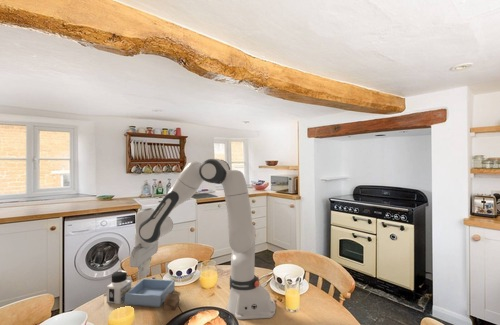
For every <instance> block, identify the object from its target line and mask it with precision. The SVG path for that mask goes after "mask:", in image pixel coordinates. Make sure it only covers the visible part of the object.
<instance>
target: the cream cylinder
mask: <svg viewBox="0 0 500 325" xmlns="http://www.w3.org/2000/svg"><path fill="white" fill-rule="evenodd" d="M142 267H143V271H142V272H138V276H140V277H146V276H149V275H150V270H151V269H150V268H151V262H150V258H149V259H147V260H146V261H145V262H143V264H142Z"/></svg>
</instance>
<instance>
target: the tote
mask: <svg viewBox="0 0 500 325" xmlns="http://www.w3.org/2000/svg"><path fill="white" fill-rule="evenodd" d="M175 285H176V283H175V280H171V279H161V278H159V279H157V278H141V280H139V281H137V283H136V284H134V285H133V286H131V289H130V290H129V291H128V292H127V293H125V301H124V305H127V306H136V307H137V306H138V307H152V308H161V307H162V306H163V304H164V300H165V298H166V296H167V295H168V294H169V293H174V291H175V289H176V288H175Z"/></svg>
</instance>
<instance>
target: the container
mask: <svg viewBox="0 0 500 325" xmlns="http://www.w3.org/2000/svg"><path fill="white" fill-rule="evenodd" d="M127 275H128V273H127V271H126V270H117V271H115V272H113V273H112V274H111V283H110V284H108V285H107V286H106V303H111V304H116V305H120V304H122V303H123V302H125V293H127V292H128V291H129V290H130V289H131V288H132V280H128V279H127V278H128V276H127Z"/></svg>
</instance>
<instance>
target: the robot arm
mask: <svg viewBox="0 0 500 325" xmlns="http://www.w3.org/2000/svg"><path fill="white" fill-rule="evenodd" d="M204 181H205V182H206V183H210V184H216V185H221V186H222V188H223V192H224V193H223V194H224V200H225V205H226V214H227V229H228V242H229V246H230V248H231V257H230V276H229V290H230V291H229V297H228V301H227V304H226V308H227V310H228V312H229V313H230V314H232V315H233V316H235V318H236V319H237V320H255V319H256V320H257V319H271V318H273V317H274V316H275V315H276V314H275V313H276V309H277V308H276V306H277V305H276V302H275V301H274V299H273V298H271V294H270V291H269V290H268V289H267V288H265V287H264V286H263V285H261V284H260V279H259V276H256V275H255V270H256V269H255V266H256V265H255V262H256V260H255V258H256V257H255V256H256V226H255V225H254V223H253V220H252V206H251V202H250V195H249V190H248V184H247V181H246V178H245V175H244V174H243V171H241V170H237V169H232V170H231V168H230V165H229V163H228V162H227V161H225V160H224V159H219V158H210V159H209V158H208V159H206V160H204V161H203V162H202V163H201V162H200V161H195V160H193V161H190V162H188V164H187V165H186V166H185V167H184V168H183V170H182V171H181V172H180V174H178V176H177V178H176V180H175V182H174V183H173V185H172V186H171V188H170V189H169V190H168V192H166V194H165V196H164V197H163V198H162V200H161V201H160V203H159V204H158V205H157V207H156V208H155V209H154V208H152V207H151V208H150V207H149V208H144V209H140V210H138V211H137V213H136V216H135V223H134V224H135V234H134V240H135V241H134V247H133V249H132V250H131V251H130V254H129V255H130V256H129V267H131V268H137V269H138V270H137V271H138V273H139V272H142V271H143V267H142V264H143V262H145V261H146V260H147V259H149V258H150V263H151V261H152V258H153V256H155V254H157V253H158V250H159V239H160V238H162V237H164V236H165V235H167V234H169V233H170V232H171V231H172V229H173V227H174V222H173V219H172V218H171V217H170V214H171V213H172V211H174V209H175V208H177V207H178V206H180V205H181V204H183V203H184V202H186V201H188V200H190V199H191V198H192V197H193V196H194V195H195V194H196V192H197V191H198V189H199V188H200V186H201V185H202V183H203V182H204Z"/></svg>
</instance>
